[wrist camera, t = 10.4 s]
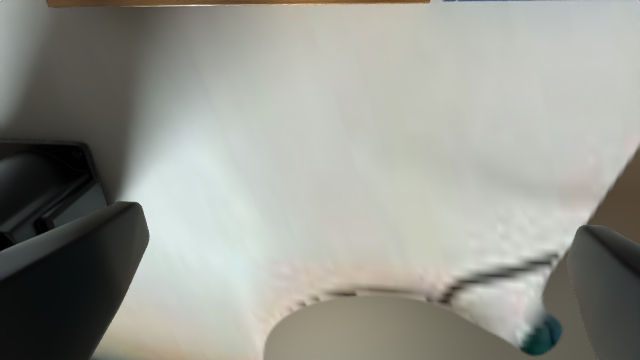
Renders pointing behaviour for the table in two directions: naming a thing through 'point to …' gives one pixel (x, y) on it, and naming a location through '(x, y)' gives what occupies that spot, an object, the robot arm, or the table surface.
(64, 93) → the table surface
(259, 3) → the wooden box
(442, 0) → the tray
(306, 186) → the table surface
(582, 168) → the table surface
